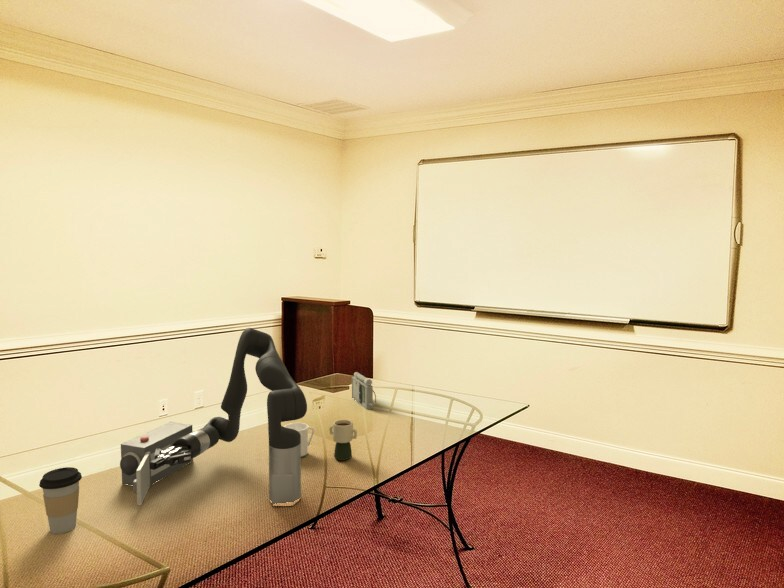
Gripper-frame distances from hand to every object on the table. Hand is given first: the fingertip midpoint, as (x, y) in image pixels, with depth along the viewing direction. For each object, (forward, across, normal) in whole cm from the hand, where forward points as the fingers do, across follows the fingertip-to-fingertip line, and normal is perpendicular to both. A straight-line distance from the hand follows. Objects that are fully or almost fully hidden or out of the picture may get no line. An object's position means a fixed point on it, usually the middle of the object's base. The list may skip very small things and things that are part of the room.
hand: (151, 466), depth 149 cm
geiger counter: (-111, +24, +11) cm, 114 cm away
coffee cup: (+17, -14, +12) cm, 25 cm away
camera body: (-18, -14, +11) cm, 25 cm away
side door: (-3, -6, +10) cm, 12 cm away
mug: (-47, +22, +12) cm, 53 cm away
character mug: (-49, +38, +12) cm, 64 cm away
